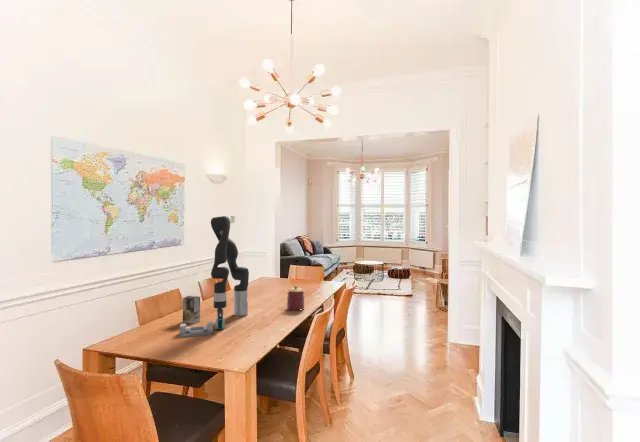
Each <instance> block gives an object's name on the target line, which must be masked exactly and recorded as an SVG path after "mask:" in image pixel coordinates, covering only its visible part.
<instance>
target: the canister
mask: <svg viewBox="0 0 640 442" xmlns="http://www.w3.org/2000/svg"><path fill="white" fill-rule="evenodd" d="M286 300H287V301H286V302H287V305H286V308H287V309H286V310H288V309H289V310H288V311H292V310H299V311H301V310H300V309H303V308H304V309H305V292H304V289H303V288H302V287H298V285H294V287H290V288H289V289H288V292H287V297H286ZM304 309H303V310H304Z"/></svg>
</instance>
